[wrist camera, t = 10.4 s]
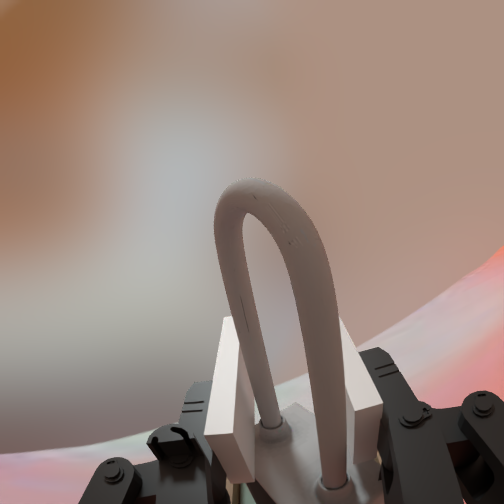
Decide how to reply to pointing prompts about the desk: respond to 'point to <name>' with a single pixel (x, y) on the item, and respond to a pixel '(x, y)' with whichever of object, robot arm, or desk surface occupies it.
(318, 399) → the padlock
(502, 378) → the desk surface
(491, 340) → the desk surface
